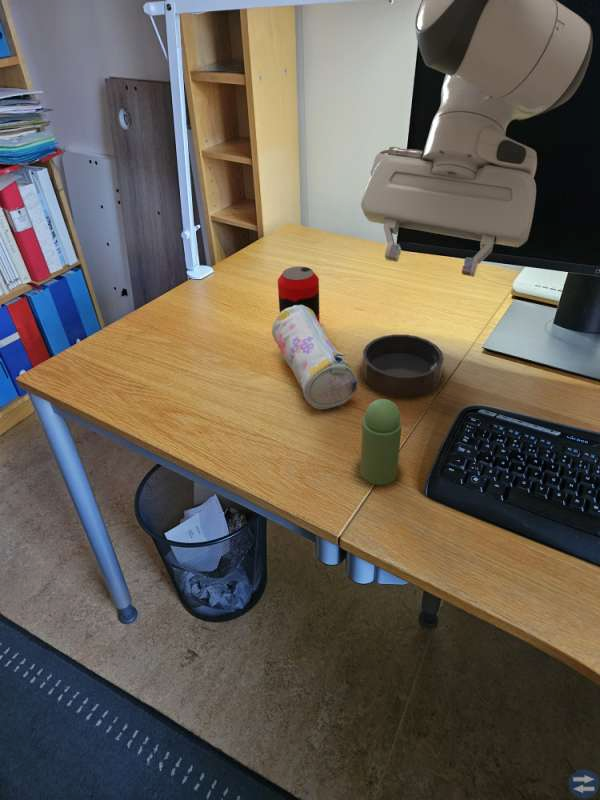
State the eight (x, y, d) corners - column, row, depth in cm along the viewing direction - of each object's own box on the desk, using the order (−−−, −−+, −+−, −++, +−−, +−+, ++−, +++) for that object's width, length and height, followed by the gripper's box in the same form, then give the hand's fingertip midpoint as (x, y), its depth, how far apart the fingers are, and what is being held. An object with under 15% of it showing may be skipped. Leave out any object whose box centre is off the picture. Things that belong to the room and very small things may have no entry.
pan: (447, 361, 98) (450, 341, 96) (431, 404, 89) (434, 384, 86) (374, 348, 102) (375, 329, 100) (352, 388, 93) (352, 368, 90)
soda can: (327, 329, 108) (327, 271, 101) (301, 345, 104) (298, 286, 97) (299, 316, 113) (297, 260, 105) (272, 331, 108) (268, 274, 101)
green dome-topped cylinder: (400, 464, 78) (408, 395, 71) (391, 489, 75) (398, 418, 67) (366, 456, 80) (370, 387, 72) (355, 479, 76) (358, 409, 69)
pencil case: (359, 407, 89) (361, 357, 83) (307, 419, 87) (305, 369, 81) (315, 342, 105) (315, 297, 99) (271, 351, 103) (267, 305, 97)
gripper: (373, 132, 67) (342, 243, 68) (551, 153, 61) (516, 276, 61) (382, 157, 73) (353, 258, 74) (545, 179, 67) (513, 290, 67)
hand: (428, 267), depth 67 cm, fingers open, 8 cm apart
